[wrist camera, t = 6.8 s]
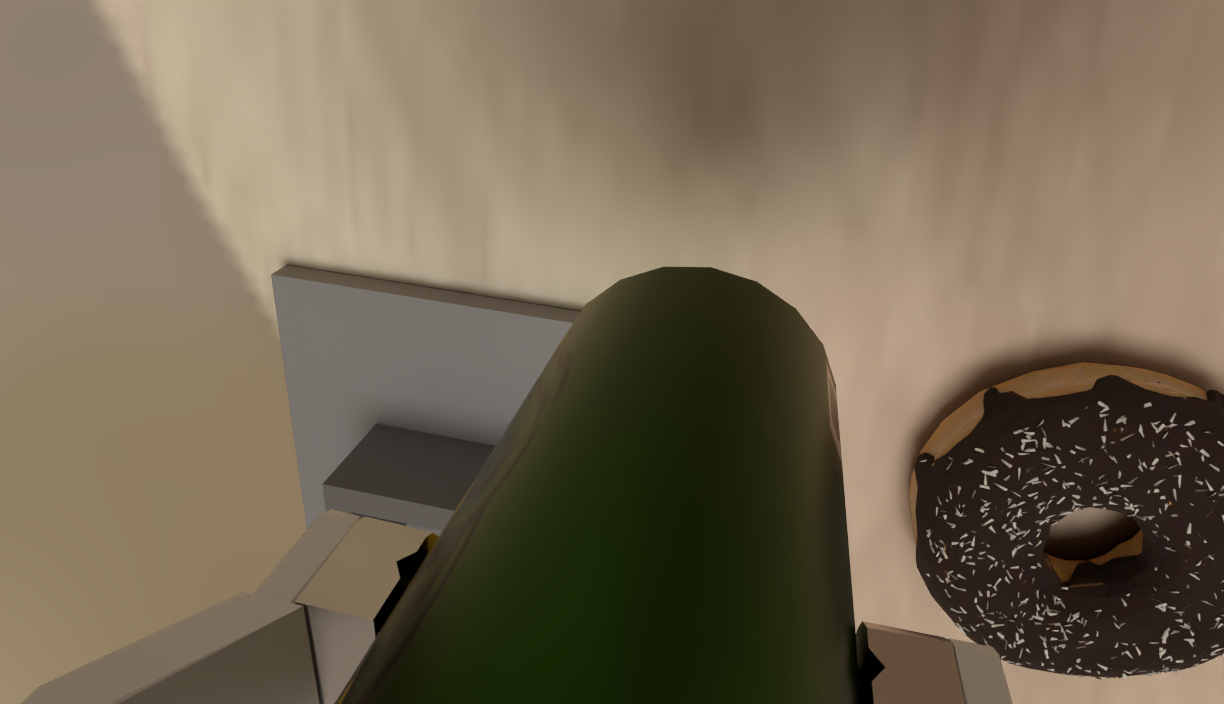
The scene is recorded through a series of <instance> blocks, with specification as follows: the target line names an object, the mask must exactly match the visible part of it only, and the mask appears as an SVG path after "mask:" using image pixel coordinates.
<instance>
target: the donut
mask: <svg viewBox="0 0 1224 704" xmlns="http://www.w3.org/2000/svg"><path fill="white" fill-rule="evenodd" d="M909 502H910V509H911V516H912V522H913V529H914V536H915V542H916V544H917V545H916V563H917V568H918V570H919V572H920V574H921V576H922V578H923V580H924V582H925V584H926V586H927V588H928V590H929V592H930V594H931V595H932V597H933V598H934V599H935V601H936V602H937V603H938V604H939V605H940V606H941V608H942V609H943V610H944V611H945V612H946V614H947V615H948V616H949V617H950V618H951V619H952V621H953V622H954V623H955V624H956V625H957V626H958V629H959V630H961V631H962V632H963V633H964V634H965V635H966V636H968V637H969V638H970V639H971V640H973V641H974V642H975V643H977V644H980V645H985V646H990V647H993V648H994V649H995V650H996V652H997V653H998V654H999V656H1000V659H1002V660H1004V661H1005V662H1008V663H1011V664H1014V665H1016V666H1022V667H1026V668H1030V669H1036V670H1042V671H1048V672H1053V673H1059V674H1064V675H1070V676H1074V675H1079V677H1083V676H1091V677H1095V678H1098V679H1101V678H1099V677H1106V678H1108V679H1109V677H1114V678H1115V677H1119V678H1123V677H1124V678H1127V676H1133V675H1141V674H1143V675H1149V676H1150V675H1155V674H1157V673H1158V674H1161V673H1160V672H1165V673H1166V672H1169V671H1170V672H1173V673H1176V674H1178V671H1179V670H1182V669H1186V668H1190V667H1194V666H1197V665H1200V664H1202V663H1204V662H1207V661H1209V660H1211V659H1214V658H1215V657H1217V656H1219V655H1221V656H1222V654H1223V653H1224V395H1223V394H1221V393H1219V392H1218V391H1215V390H1209V391H1208V392H1205V391H1204V390H1202V389H1200V388H1199V387H1197V386H1194V385H1192V384H1189V383H1187V382H1184V381H1182V380H1179V379H1176V378H1174V377H1171V376H1169V375H1166V374H1162V373H1158V372H1154V371H1151V370H1147V369H1142V368H1135V367H1128V366H1118V365H1108V364H1097V363H1087V362H1081V363H1075V364H1070V365H1065V366H1059V367H1054V368H1049V369H1044V370H1038V371H1033V372H1030V373H1027V374H1025V375H1022V376H1019V377H1017V378H1014V379H1011V380H1009V381H1006V382H1003V383H1001V384H998V385H995V386H993V387H990V388H987V389H984V390H982V391H980V392H978V393H977V394H976V395H975V396H973V397H972V398H971V399H970V400H968V401H967V402H966V403H964V404H963V405H962V406H961V407H959V408H958V409H957V410H955V411H954V412H953V413H952V414H950V415H949V416H948V417H946V418H945V419H944V420H943V421H942V422H941V424H940V425H939V426H938V428H937V429H936V431H935V432H934V433H933V435H932V436H931V438H930V439H929V440H928V442H927V443H926V444H925V446H924V447H923V449H922V450H921V452H920V454H919V457H918V459H917V462H916V464H915V467H914V470H913V473H912V476H911V485H910V494H909ZM1087 507H1094V508H1100V509H1105V510H1113V511H1117V512H1121V513H1125V514H1127V515H1125V516H1130V517H1132V518H1133V519H1134V520H1135V522H1136V523H1137V524H1138V526H1139V527H1140V531H1139V532H1138V533H1137V534H1136V535H1135V536H1134V537H1133V538H1132V539H1130V540H1128V541H1125V542H1123V543H1121V544H1119V545H1118V546H1117V547H1115V548H1114V549H1112V550H1111V551H1109V552H1108V553H1107V554H1105V555H1103V556H1100V557H1097V558H1094V559H1091V560H1088V561H1065V560H1062V559H1059V558H1056V557H1053V556H1050V555H1048V554H1046V553H1045V552H1043V549H1044V546H1045V543H1046V541H1047V538H1048V535H1049V530H1050V527H1051V526H1052V525H1054V524H1057V523H1058V522H1057V521H1059V520H1060V519H1062V518H1063V517H1065V516H1066V515H1068V514H1071V512H1074V511H1076V510H1078V509H1083V508H1087Z"/></svg>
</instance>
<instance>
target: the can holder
mask: <svg viewBox="0 0 1224 704" xmlns="http://www.w3.org/2000/svg"><path fill="white" fill-rule="evenodd" d="M271 277H272V284H273V291H274V298H275V305H276V312H277V319H278V327H279V334H280V341H281V348H282V355H283V362H284V369H285V377H286V384H287V391H288V397H289V405H290V412H291V419H292V427H293V434H294V441H295V448H296V455H297V462H298V468H299V476H300V484H301V491H302V497H303V505H304V512H305V519H306V526H307V529H308V528H309V527H310V526H311V525H312V524H313V522H314V521H315V520H316V519H317V518H318V516H319V515H321V514H322V513H324V512H326V511H328V510H330V509H333V510H337V511H341V512H345V513H349V514H354V515H358V516H362V517H365V516H366V517H370V518H374V519H378V520H383V521H387V522H391V523H395V524H400V525H404V526H408V527H412V528H417V529H421V530H425V531H429V532H433V533H435V534H436V535H437V536H440V534H441V532H442V531H443V529H444V528H445V526H446V524H447V523H448V521H449V520H450V518H451V516H452V515H453V513H454V512H455V510H456V508H457V507H458V505H459V504H460V502H461V500H462V499H463V497H464V496H465V494H466V492H467V491H468V489H469V488H470V486H471V484H472V483H473V481H474V480H475V478H476V476H477V475H478V473H479V472H480V470H481V468H482V467H483V465H484V464H485V462H486V460H487V459H488V457H489V456H490V454H491V452H492V451H493V449H494V448H495V446H496V444H497V443H498V441H499V440H500V438H501V436H502V435H503V433H504V432H505V430H506V428H507V427H508V425H509V424H510V422H511V420H512V419H513V417H514V416H515V414H516V412H517V411H518V409H519V408H520V406H521V404H522V403H523V401H524V400H525V398H526V396H527V395H528V393H529V392H530V390H531V389H532V387H533V385H534V384H535V382H536V381H537V379H538V377H539V376H540V374H541V373H542V371H543V369H544V368H545V366H546V365H547V363H548V361H549V360H550V358H551V357H552V355H553V353H554V352H555V350H556V349H557V347H558V345H559V344H560V342H561V341H562V339H563V337H564V336H565V334H566V333H567V331H568V330H569V329H570V327H571V326H572V324H573V323H574V321H575V320H576V318H577V317H578V315H579V314H580V313H581V311H575V310H568V309H562V308H556V307H549V306H543V305H537V304H530V303H524V302H518V301H511V300H505V299H499V298H492V297H486V296H480V295H473V294H467V293H461V292H455V291H448V290H442V289H436V288H429V287H423V286H417V285H410V284H404V283H398V282H391V281H385V280H379V279H372V278H366V277H360V276H353V275H347V274H341V273H334V272H328V271H322V270H315V269H309V268H303V267H296V266H290V265H286V266H284V267H283V268H281V269H279V270H278V271H276V272H275V273H273V274H271Z"/></svg>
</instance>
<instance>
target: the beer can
mask: <svg viewBox="0 0 1224 704" xmlns="http://www.w3.org/2000/svg"><path fill="white" fill-rule="evenodd" d="M334 704H861V697H860V684H859V672H858V659H857V647H856V634H855V621H854V609H853V596H852V584H851V571H850V559H849V546H848V533H847V521H846V508H845V496H844V483H843V470H842V458H841V445H840V433H839V420H838V407H837V395H836V384H835V381H834V378H833V375H832V371H831V368H830V365H829V362H828V359H827V355H826V352H825V349H824V346H823V344H822V343H821V341H820V340H819V339H818V337H817V336H816V335H815V333H814V332H813V331H812V329H811V328H810V327H809V325H808V324H807V323H806V321H805V320H804V319H803V317H802V316H801V315H800V313H799V312H798V311H797V309H795V308H794V307H793V306H791V305H790V304H788V303H787V302H785V301H784V300H782V299H781V298H780V297H778V296H777V295H775V294H774V293H772V292H771V291H769V290H768V289H767V288H765V287H764V286H762V285H761V284H759V283H758V282H756V281H753V280H749V279H746V278H743V277H740V276H737V275H734V274H730V273H727V272H724V271H721V270H718V269H715V268H712V267H661V268H658V269H655V270H651V271H648V272H645V273H641V274H638V275H635V276H631V277H628V278H625V279H621V280H619V281H618V282H617V283H615V284H614V285H612V286H611V287H610V288H608V289H607V290H605V291H604V292H603V293H601V294H600V295H598V296H597V297H596V298H594V299H593V300H591V301H590V302H589V303H587V304H586V305H585V307H584V308H583V310H582V311H581V313H580V314H579V315H578V317H577V318H576V320H575V321H574V323H573V324H572V326H571V327H570V329H569V330H568V331H567V333H566V334H565V336H564V337H563V339H562V341H561V342H560V344H559V345H558V347H557V349H556V350H555V352H554V353H553V355H552V357H551V358H550V360H549V361H548V363H547V365H546V366H545V368H544V369H543V371H542V373H541V374H540V376H539V377H538V379H537V381H536V382H535V384H534V385H533V387H532V389H531V390H530V392H529V393H528V395H527V396H526V398H525V400H524V401H523V403H522V404H521V406H520V408H519V409H518V411H517V412H516V414H515V416H514V417H513V419H512V420H511V422H510V424H509V425H508V427H507V428H506V430H505V432H504V433H503V435H502V436H501V438H500V440H499V441H498V443H497V444H496V446H495V448H494V449H493V451H492V452H491V454H490V456H489V457H488V459H487V460H486V462H485V464H484V465H483V467H482V468H481V470H480V472H479V473H478V475H477V476H476V478H475V480H474V481H473V483H472V484H471V486H470V488H469V489H468V491H467V492H466V494H465V496H464V497H463V499H462V500H461V502H460V504H459V505H458V507H457V508H456V510H455V512H454V513H453V515H452V516H451V518H450V520H449V521H448V523H447V524H446V526H445V528H444V529H443V531H442V532H441V534H440V536H439V537H438V539H437V540H436V542H435V544H434V545H433V547H432V548H431V550H430V552H429V553H428V555H427V556H426V558H425V560H424V561H423V563H422V564H421V566H420V568H419V569H418V571H417V572H416V574H415V576H414V577H413V579H412V580H411V582H410V584H409V585H408V587H407V588H406V590H405V592H404V593H403V595H402V596H401V598H400V600H399V601H398V603H397V604H396V606H395V608H394V609H393V611H392V612H391V614H390V616H389V617H388V619H387V620H386V622H385V624H384V625H383V627H382V628H381V630H380V632H379V633H378V635H377V636H376V638H375V640H374V641H373V643H372V644H371V646H370V648H369V649H368V651H367V652H366V654H365V656H364V657H363V659H362V660H361V662H360V664H359V665H358V667H357V668H356V670H355V672H354V673H353V675H352V676H351V678H350V680H349V681H348V683H347V684H346V686H345V688H344V689H343V691H342V692H341V694H340V696H339V697H338V699H337V700H336V702H335V703H334Z"/></svg>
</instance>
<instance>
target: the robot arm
mask: <svg viewBox="0 0 1224 704" xmlns="http://www.w3.org/2000/svg"><path fill="white" fill-rule="evenodd" d="M438 537H439V536H437V535H436V534H435V533H433V532H429V531H425V530H421V529H417V528H412V527H408V526H404V525H400V524H395V523H391V522H387V521H383V520H378V519H374V518H370V517H366V516H365V517H362V516H358V515H354V514H349V513H345V512H341V511H337V510H333V509H330V510H328V511H326V512H324V513H322V514H321V515H319V516H318V518H317V519H316V520H315V521H314V522H313V524H312V525H311V526H310V527H309V528H308V529H307V531H306V532H305V533H304V534H303V535H302V537H301V538H300V539H299V540H298V541H297V542H296V544H295V545H294V546H293V547H292V549H291V550H290V551H289V552H288V553H287V554H286V555H285V557H284V558H283V559H282V560H281V561H280V563H279V564H278V565H277V566H276V567H275V569H274V570H273V571H272V572H271V573H270V574H269V576H268V577H267V578H266V579H265V580H264V581H263V583H262V584H261V585H260V586H259V587H258V589H257V590H256V591H255V592H254V593H253V594H250V593H244V592H241V593H239V594H237V595H235V596H233V597H230V598H228V599H226V600H224V601H222V602H220V603H217V604H215V605H213V606H211V607H209V608H207V609H205V610H202V611H200V612H198V613H196V614H194V615H192V616H190V617H187V618H185V619H183V620H181V621H179V622H177V623H174V624H172V625H170V626H168V627H166V628H164V629H162V630H159V631H157V632H155V633H153V634H151V635H149V636H147V637H145V638H142V639H140V640H138V641H136V642H134V643H131V644H129V645H127V646H125V647H123V648H121V649H119V650H116V651H114V652H112V653H110V654H108V655H106V656H103V657H101V658H99V659H97V660H95V661H93V662H91V663H88V664H86V665H84V666H82V667H80V668H78V669H75V670H73V671H71V672H69V673H67V674H65V675H63V676H61V677H58V678H56V679H54V680H52V681H50V682H48V683H45V684H43V685H41V686H39V687H38V688H37V689H36V690H35V691H34V692H33V693H32V694H31V695H30V696H29V697H27V698H26V699H25V700H24V701H23V702H22V703H21V704H334V703H335V702H336V700H337V699H338V697H339V696H340V694H341V692H342V691H343V689H344V688H345V686H346V684H347V683H348V681H349V680H350V678H351V676H352V675H353V673H354V672H355V670H356V668H357V667H358V665H359V664H360V662H361V660H362V659H363V657H364V656H365V654H366V652H367V651H368V649H369V648H370V646H371V644H372V643H373V641H374V640H375V638H376V636H377V635H378V633H379V632H380V630H381V628H382V627H383V625H384V624H385V622H386V620H387V619H388V617H389V616H390V614H391V612H392V611H393V609H394V608H395V606H396V604H397V603H398V601H399V600H400V598H401V596H402V595H403V593H404V592H405V590H406V588H407V587H408V585H409V584H410V582H411V580H412V579H413V577H414V576H415V574H416V572H417V571H418V569H419V568H420V566H421V564H422V563H423V561H424V560H425V558H426V556H427V555H428V553H429V552H430V550H431V548H432V547H433V545H434V544H435V542H436V540H437V539H438ZM856 647H857V659H858V672H859V684H860V697H861V704H1013V703H1012V700H1011V696H1010V692H1009V689H1008V685H1007V682H1006V678H1005V674H1004V671H1003V667H1002V664H1001V660H1000V656H999V654H998V653H997V652H996V650H995V649H994V648H993V647H990V646H985V645H980V644H975V643H970V642H965V641H960V640H955V639H950V638H949V639H946V638H944V637H939V636H934V635H929V634H924V633H919V632H914V631H909V630H904V629H899V628H894V627H889V626H884V625H878V624H873V623H868V622H863V621H862V623H861V624H860V626H859V628H858V630H857V633H856Z"/></svg>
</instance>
